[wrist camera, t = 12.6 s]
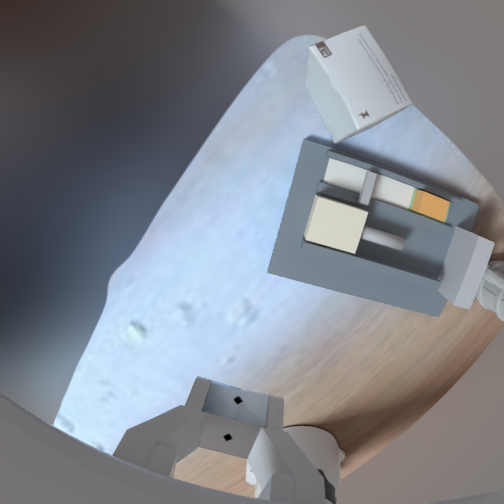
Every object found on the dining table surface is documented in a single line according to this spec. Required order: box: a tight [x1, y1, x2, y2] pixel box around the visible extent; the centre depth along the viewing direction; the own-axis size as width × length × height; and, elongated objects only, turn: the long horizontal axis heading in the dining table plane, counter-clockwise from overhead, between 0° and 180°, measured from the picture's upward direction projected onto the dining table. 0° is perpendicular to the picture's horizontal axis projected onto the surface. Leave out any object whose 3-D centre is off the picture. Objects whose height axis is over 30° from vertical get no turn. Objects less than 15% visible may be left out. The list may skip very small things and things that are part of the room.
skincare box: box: [304, 26, 413, 144], centre depth 28 cm, size 8×6×15 cm
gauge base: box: [267, 140, 495, 317], centre depth 35 cm, size 17×26×7 cm, turn 76°
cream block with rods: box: [304, 171, 405, 254], centre depth 35 cm, size 10×12×3 cm
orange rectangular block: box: [411, 190, 450, 222], centre depth 35 cm, size 3×4×2 cm, turn 76°
